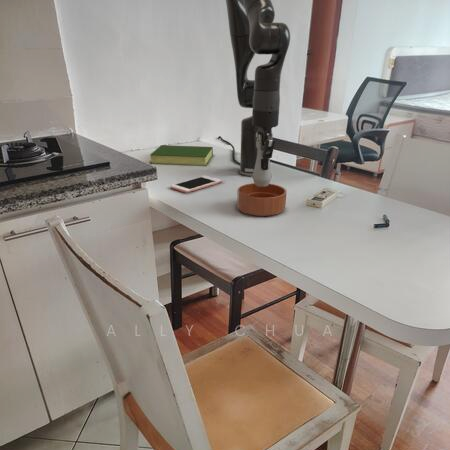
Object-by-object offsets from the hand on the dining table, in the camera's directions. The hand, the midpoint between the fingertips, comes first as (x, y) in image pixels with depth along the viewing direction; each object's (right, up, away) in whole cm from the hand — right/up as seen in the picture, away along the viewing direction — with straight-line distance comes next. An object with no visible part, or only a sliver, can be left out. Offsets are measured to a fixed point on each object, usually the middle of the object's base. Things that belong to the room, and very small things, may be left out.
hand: (262, 169), depth 125 cm
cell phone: (-22, +3, +27) cm, 35 cm away
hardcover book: (-31, +24, +60) cm, 71 cm away
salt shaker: (0, -4, +3) cm, 5 cm away
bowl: (0, -10, +7) cm, 12 cm away
